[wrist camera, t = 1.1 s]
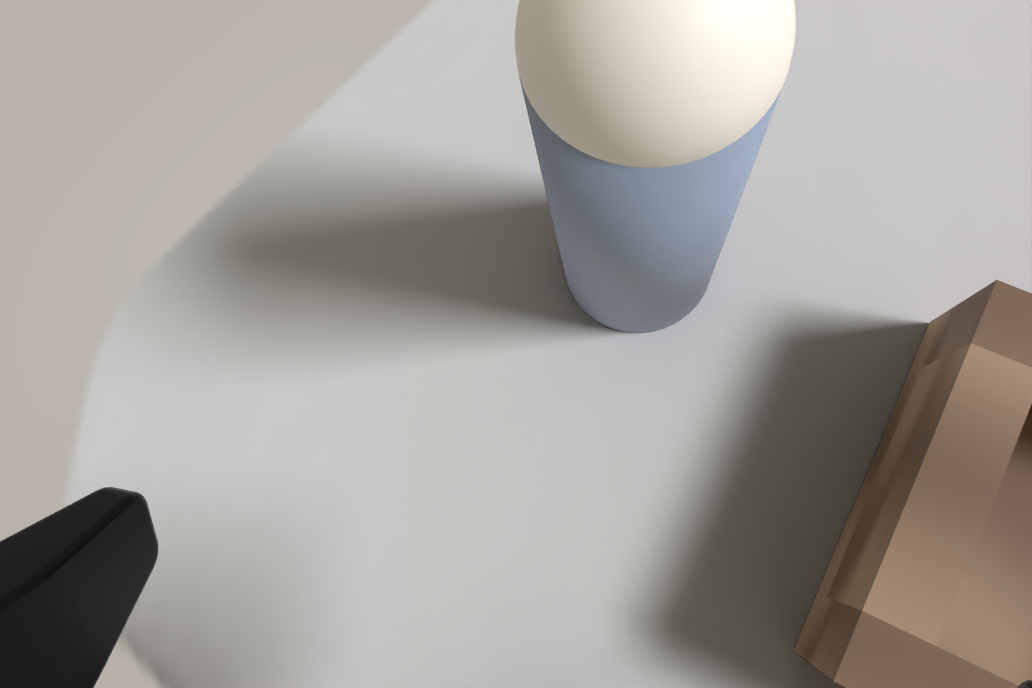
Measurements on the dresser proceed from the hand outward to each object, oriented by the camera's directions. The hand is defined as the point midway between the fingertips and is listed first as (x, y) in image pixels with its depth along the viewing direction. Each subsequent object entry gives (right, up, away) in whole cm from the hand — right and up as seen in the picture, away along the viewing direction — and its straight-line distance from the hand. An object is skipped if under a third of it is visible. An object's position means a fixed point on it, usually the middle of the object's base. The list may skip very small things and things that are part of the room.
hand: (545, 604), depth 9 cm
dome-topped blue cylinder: (+3, +5, +14) cm, 15 cm away
